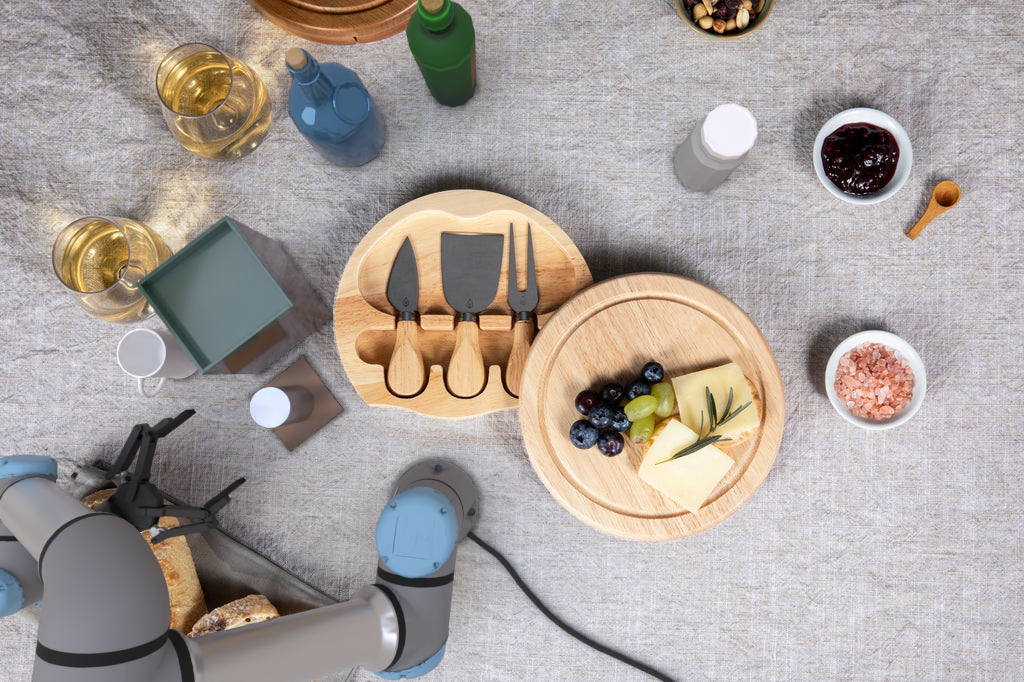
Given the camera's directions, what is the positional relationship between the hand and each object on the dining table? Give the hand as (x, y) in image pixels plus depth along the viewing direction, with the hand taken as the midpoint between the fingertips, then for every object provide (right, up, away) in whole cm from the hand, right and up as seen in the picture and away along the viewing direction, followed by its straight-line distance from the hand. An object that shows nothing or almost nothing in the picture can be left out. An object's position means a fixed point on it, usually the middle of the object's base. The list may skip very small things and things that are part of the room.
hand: (216, 445), depth 105 cm
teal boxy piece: (+3, +22, +15) cm, 27 cm away
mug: (-14, +12, +15) cm, 24 cm away
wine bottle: (+18, +54, +16) cm, 59 cm away
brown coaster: (+8, +5, +14) cm, 17 cm away
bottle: (+36, +63, +16) cm, 74 cm away
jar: (+80, +48, +15) cm, 95 cm away
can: (+8, +5, +13) cm, 16 cm away
